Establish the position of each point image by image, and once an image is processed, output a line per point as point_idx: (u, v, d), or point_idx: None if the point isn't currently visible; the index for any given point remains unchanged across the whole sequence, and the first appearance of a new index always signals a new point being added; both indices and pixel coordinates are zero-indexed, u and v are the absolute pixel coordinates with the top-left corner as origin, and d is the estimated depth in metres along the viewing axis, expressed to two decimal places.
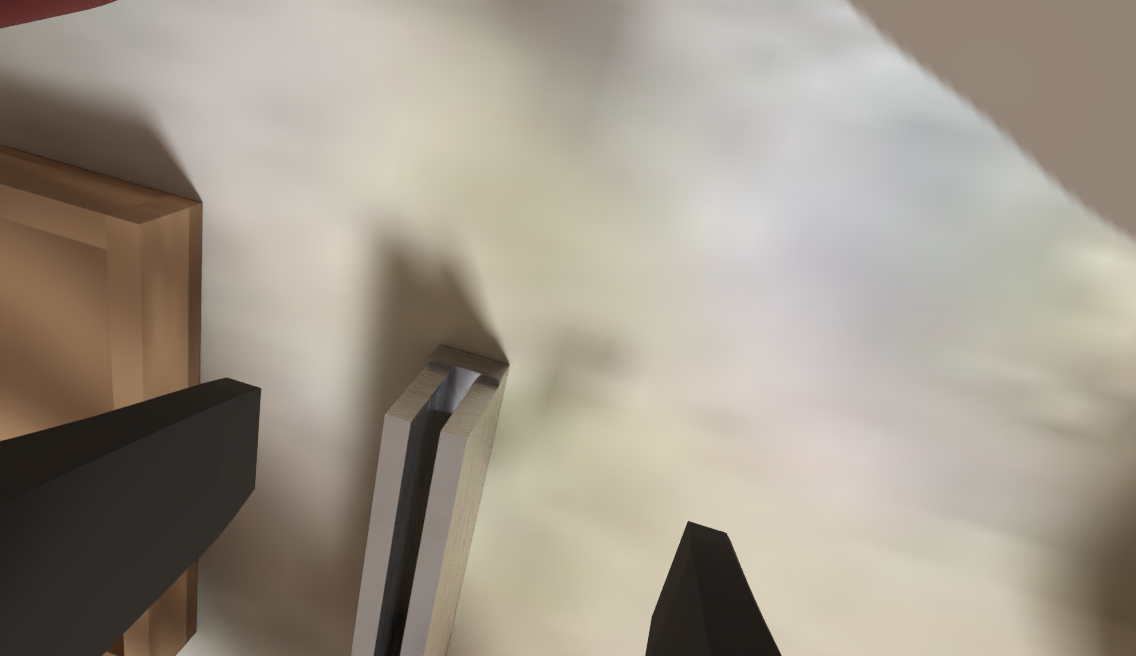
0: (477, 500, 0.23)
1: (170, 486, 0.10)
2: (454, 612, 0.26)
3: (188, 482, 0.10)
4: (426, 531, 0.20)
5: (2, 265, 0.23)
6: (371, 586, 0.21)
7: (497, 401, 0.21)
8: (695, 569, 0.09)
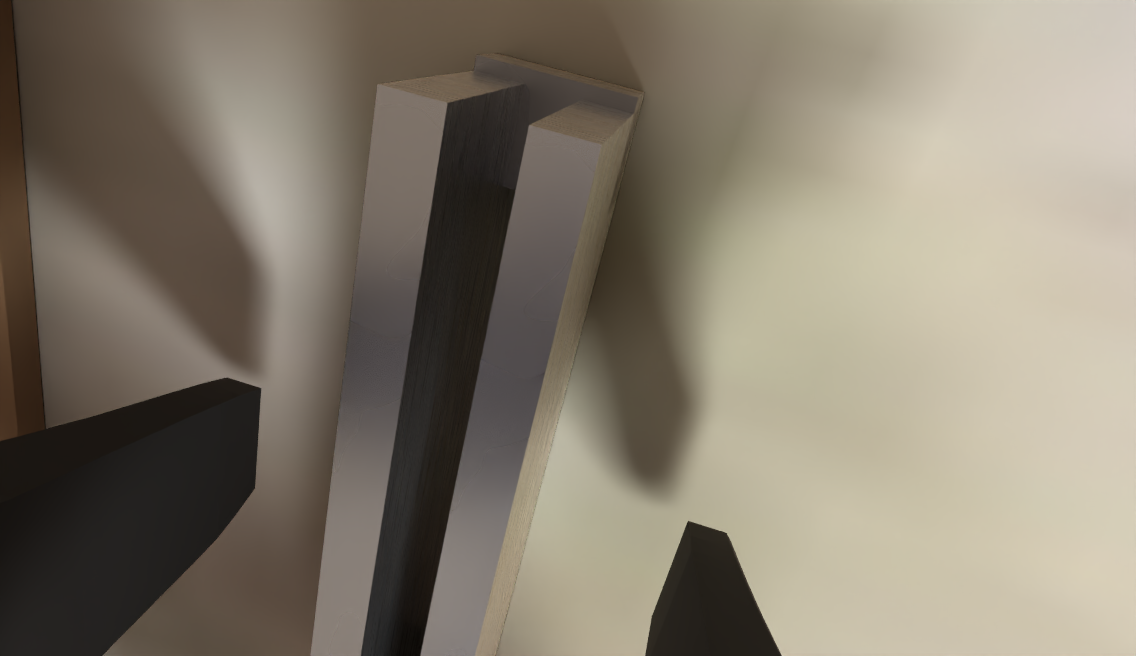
0: (562, 396, 0.12)
1: (171, 486, 0.10)
2: (504, 619, 0.14)
3: (188, 482, 0.10)
4: (478, 421, 0.08)
5: None
6: (345, 560, 0.09)
7: (622, 162, 0.10)
8: (695, 569, 0.09)
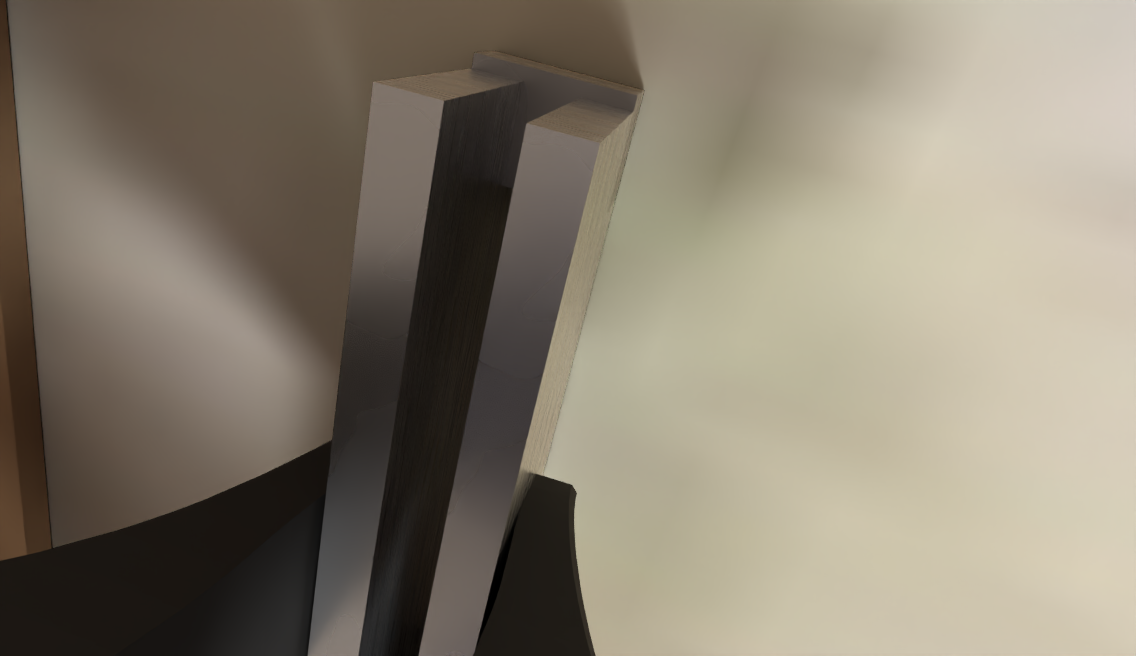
0: (561, 396, 0.12)
1: None
2: None
3: None
4: (475, 422, 0.08)
5: None
6: (342, 562, 0.09)
7: (621, 161, 0.10)
8: (519, 513, 0.10)
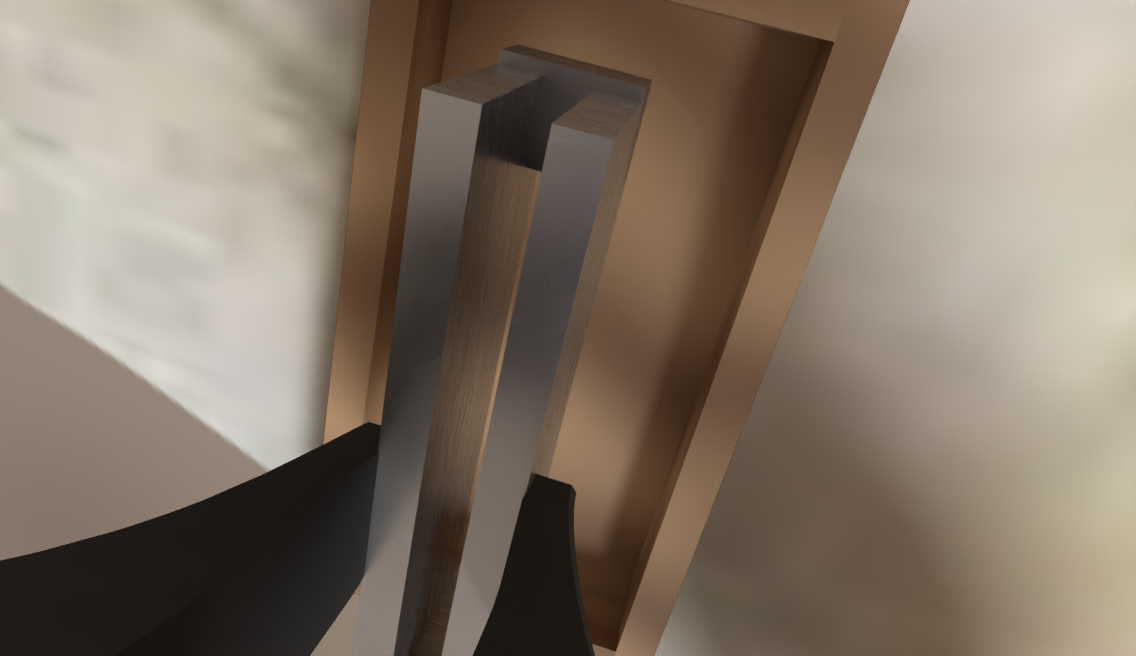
0: (578, 354, 0.13)
1: (335, 539, 0.10)
2: None
3: (346, 533, 0.10)
4: (508, 375, 0.09)
5: None
6: (393, 495, 0.11)
7: (632, 145, 0.11)
8: None
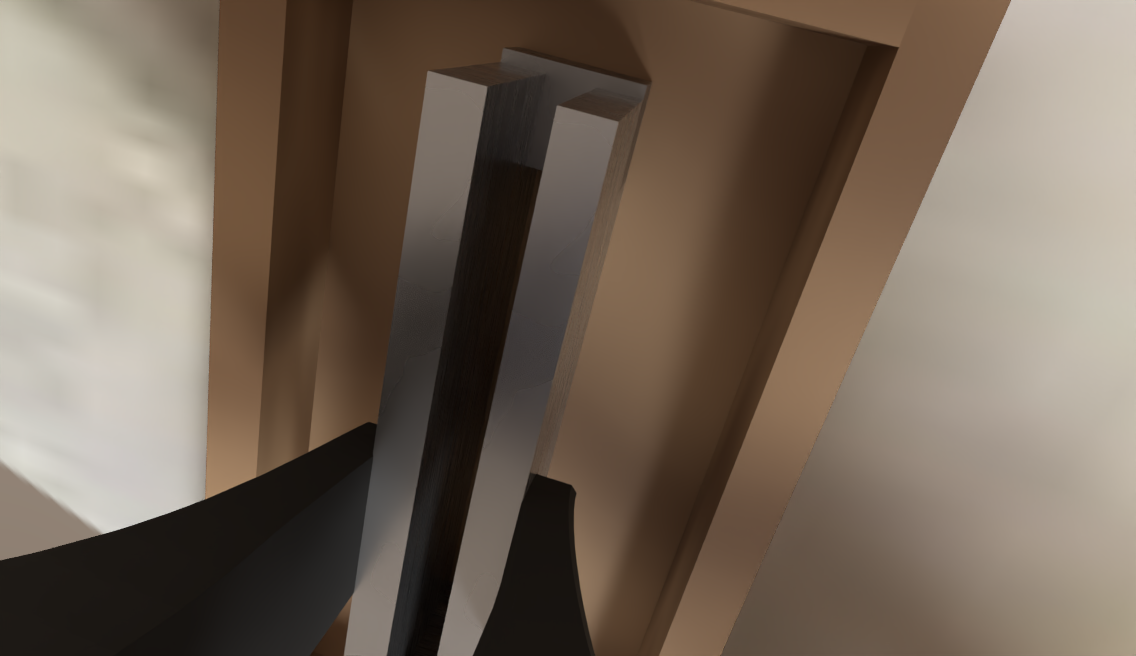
0: (576, 358, 0.13)
1: (334, 540, 0.10)
2: None
3: (346, 533, 0.10)
4: (509, 365, 0.09)
5: None
6: (388, 494, 0.10)
7: (632, 144, 0.11)
8: (519, 513, 0.10)
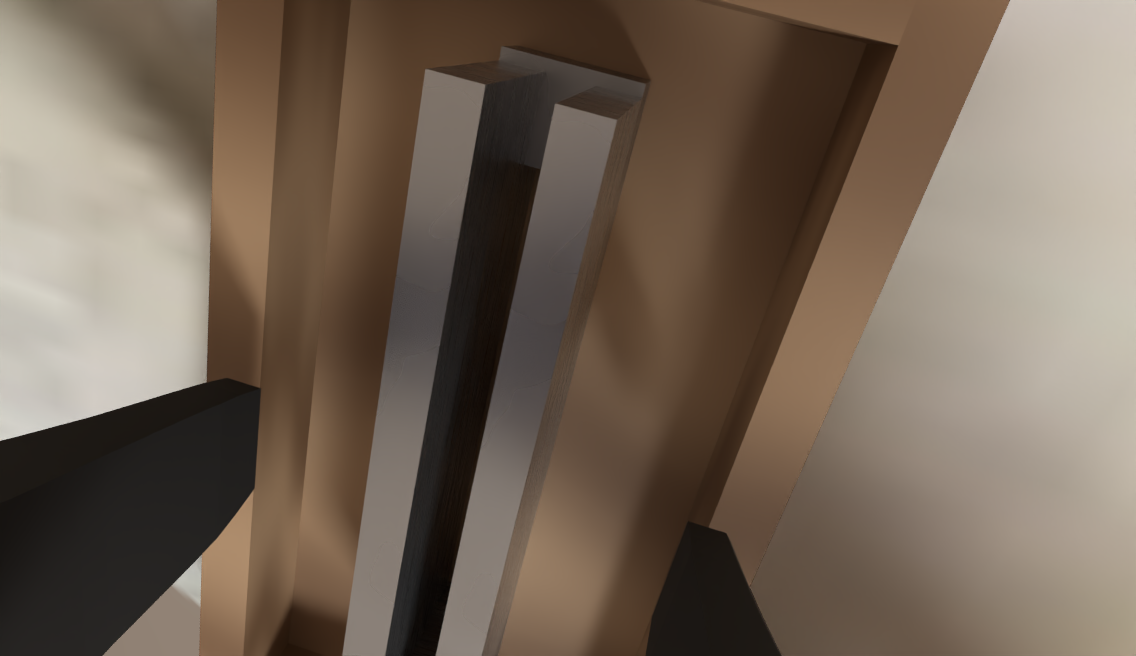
0: (575, 358, 0.13)
1: (171, 486, 0.10)
2: (520, 569, 0.15)
3: (188, 482, 0.10)
4: (507, 364, 0.09)
5: None
6: (387, 494, 0.10)
7: (631, 143, 0.11)
8: (695, 569, 0.09)
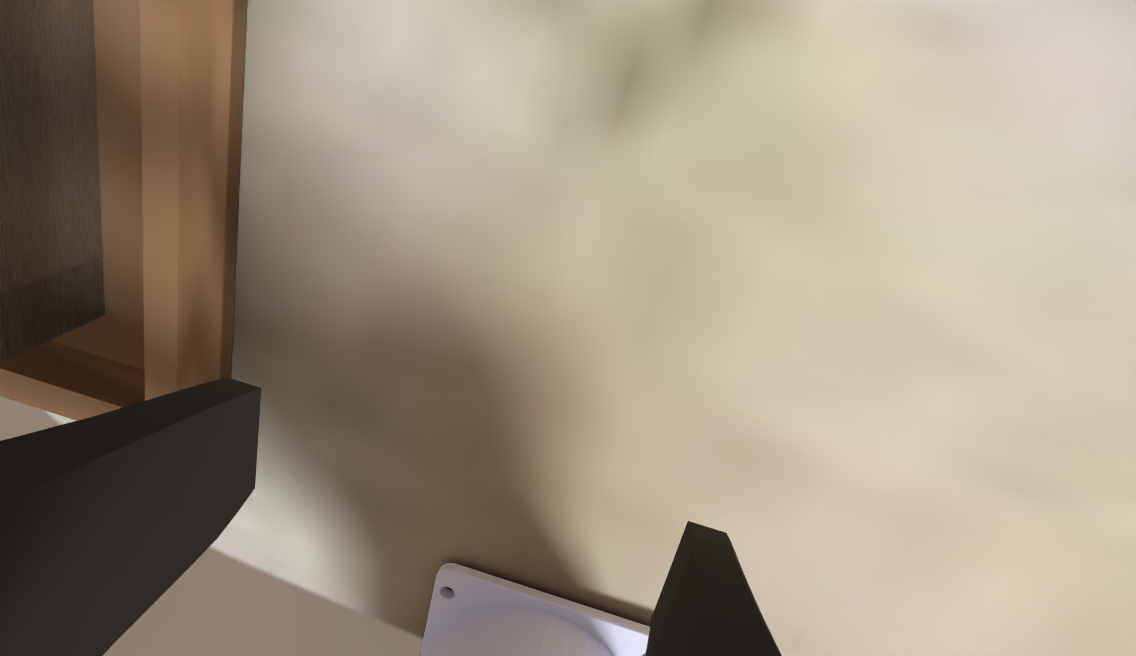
0: (79, 32, 0.19)
1: (171, 486, 0.10)
2: (95, 221, 0.21)
3: (188, 482, 0.10)
4: None
5: None
6: None
7: None
8: (695, 569, 0.09)
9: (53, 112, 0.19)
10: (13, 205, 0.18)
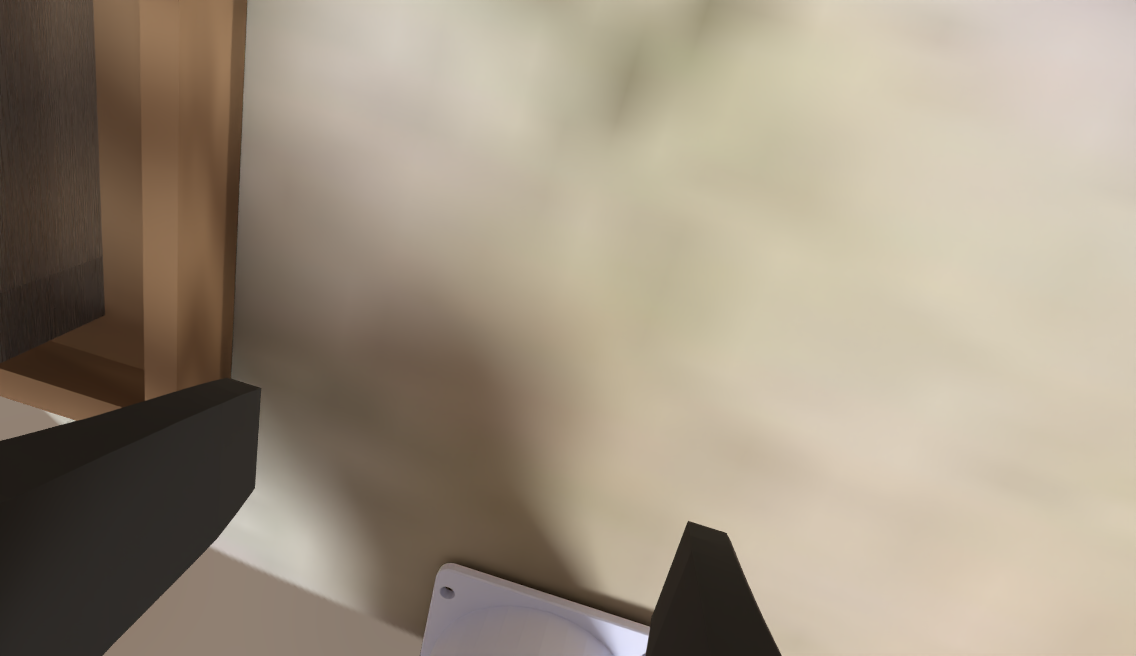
0: (79, 32, 0.19)
1: (171, 486, 0.10)
2: (95, 221, 0.21)
3: (188, 482, 0.10)
4: None
5: None
6: None
7: None
8: (695, 569, 0.09)
9: (53, 112, 0.19)
10: (13, 205, 0.18)
